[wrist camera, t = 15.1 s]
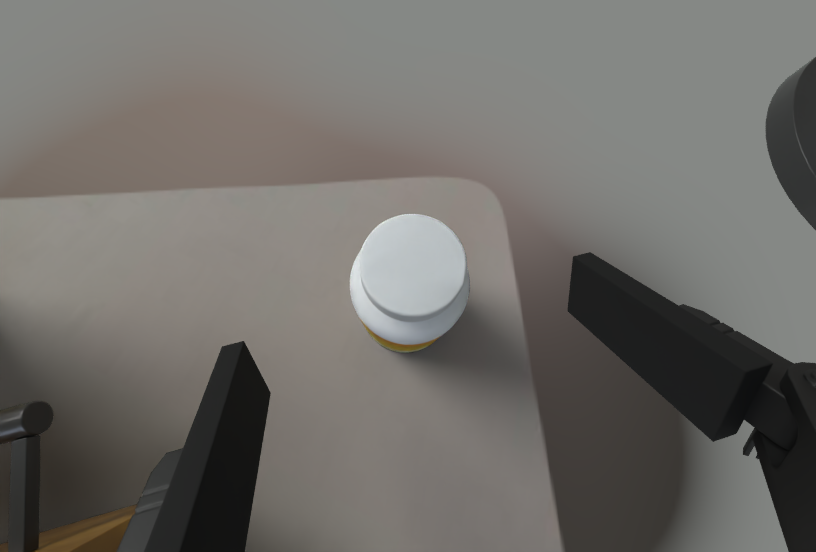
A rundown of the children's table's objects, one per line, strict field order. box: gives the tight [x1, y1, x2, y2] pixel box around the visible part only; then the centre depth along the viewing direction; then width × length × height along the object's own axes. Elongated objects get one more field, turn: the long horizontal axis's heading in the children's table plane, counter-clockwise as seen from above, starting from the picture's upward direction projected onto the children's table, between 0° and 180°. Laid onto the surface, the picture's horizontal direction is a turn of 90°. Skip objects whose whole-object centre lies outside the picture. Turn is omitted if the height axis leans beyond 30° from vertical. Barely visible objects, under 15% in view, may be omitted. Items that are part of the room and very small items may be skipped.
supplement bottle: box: [350, 214, 470, 353], centre depth 17 cm, size 5×5×10 cm
